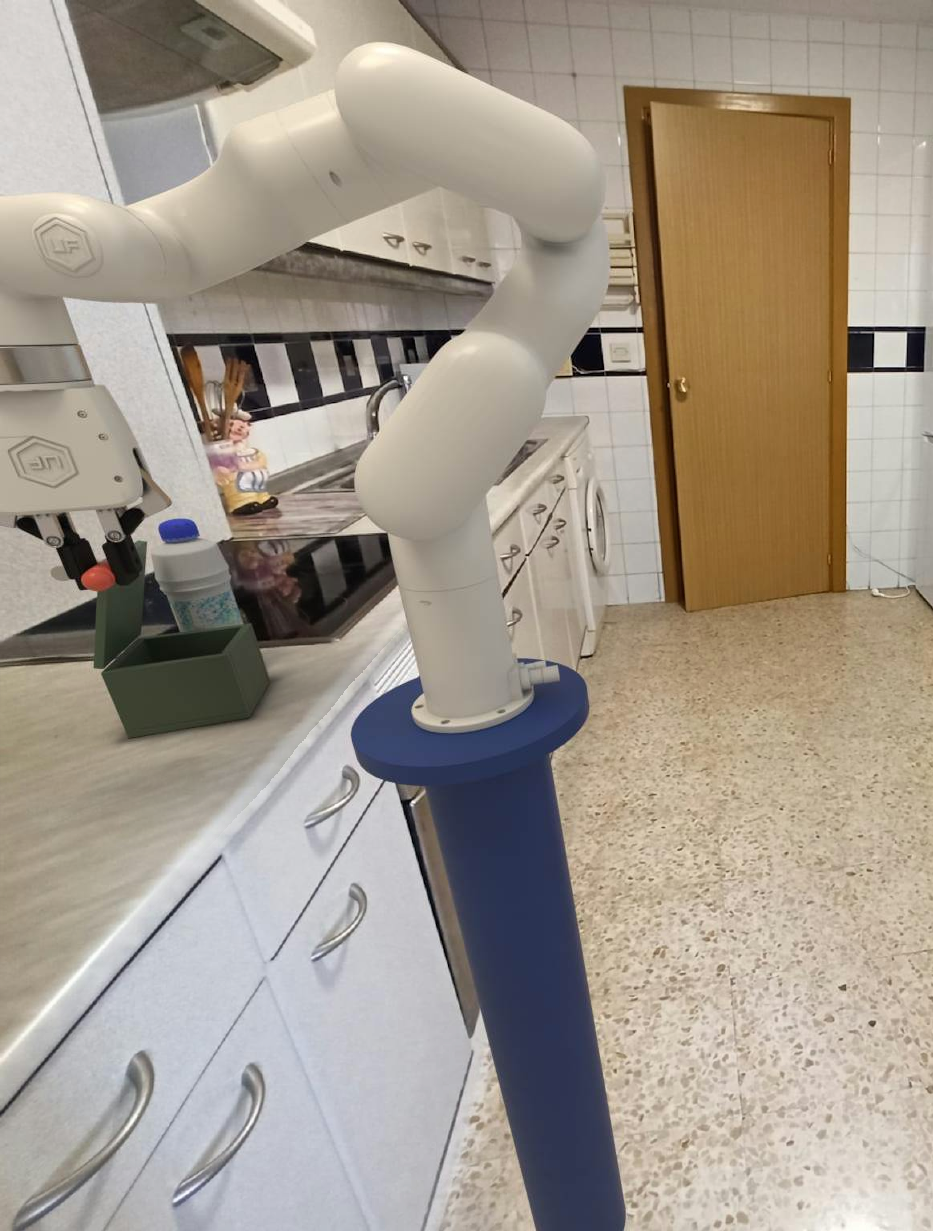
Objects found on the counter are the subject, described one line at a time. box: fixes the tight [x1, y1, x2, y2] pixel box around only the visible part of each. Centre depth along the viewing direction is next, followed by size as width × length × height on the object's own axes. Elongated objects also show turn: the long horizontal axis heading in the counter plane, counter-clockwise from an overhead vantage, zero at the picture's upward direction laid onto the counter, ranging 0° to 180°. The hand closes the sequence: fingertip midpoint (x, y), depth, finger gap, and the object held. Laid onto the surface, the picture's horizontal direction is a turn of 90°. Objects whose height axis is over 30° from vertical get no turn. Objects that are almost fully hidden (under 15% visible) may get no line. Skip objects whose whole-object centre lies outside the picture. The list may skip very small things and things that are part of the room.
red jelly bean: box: [81, 557, 116, 592], centre depth 64 cm, size 6×2×2 cm, turn 25°
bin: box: [100, 622, 271, 739], centre depth 80 cm, size 11×10×8 cm
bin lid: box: [49, 540, 148, 670], centre depth 74 cm, size 11×10×5 cm
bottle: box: [150, 518, 244, 632], centre depth 85 cm, size 7×7×20 cm
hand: (110, 581), depth 65 cm, fingers closed on red jelly bean, 2 cm apart
